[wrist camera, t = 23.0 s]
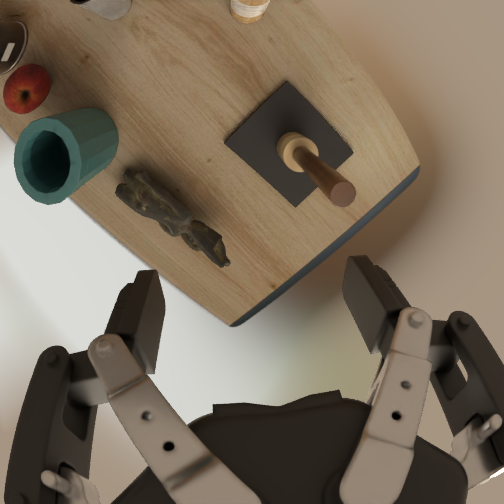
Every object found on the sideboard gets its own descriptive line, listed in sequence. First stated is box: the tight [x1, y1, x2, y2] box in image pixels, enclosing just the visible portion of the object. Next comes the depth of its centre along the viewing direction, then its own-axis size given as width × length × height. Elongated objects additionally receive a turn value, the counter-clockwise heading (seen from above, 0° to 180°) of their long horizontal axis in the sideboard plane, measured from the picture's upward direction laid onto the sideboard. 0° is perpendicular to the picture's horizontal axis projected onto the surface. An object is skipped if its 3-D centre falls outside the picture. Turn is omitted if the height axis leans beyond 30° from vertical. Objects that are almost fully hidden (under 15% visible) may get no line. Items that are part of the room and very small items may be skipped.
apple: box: [3, 64, 51, 114], centre depth 25 cm, size 7×8×8 cm
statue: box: [115, 169, 231, 268], centre depth 40 cm, size 6×6×20 cm
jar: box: [14, 108, 118, 205], centre depth 29 cm, size 10×10×12 cm
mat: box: [224, 81, 353, 208], centre depth 38 cm, size 14×12×1 cm
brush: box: [277, 132, 356, 207], centre depth 30 cm, size 4×4×19 cm
